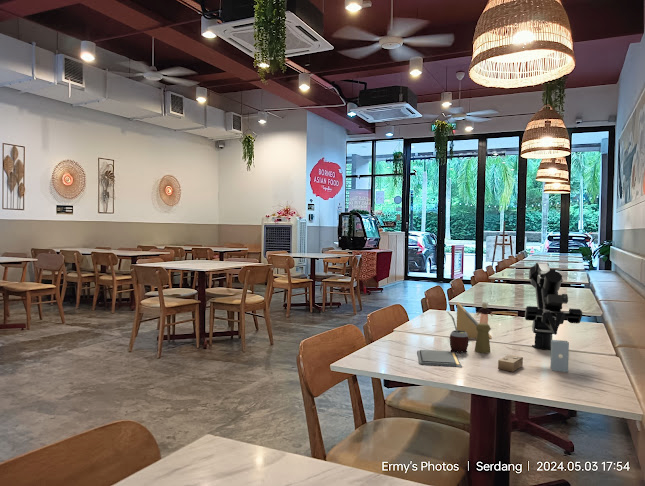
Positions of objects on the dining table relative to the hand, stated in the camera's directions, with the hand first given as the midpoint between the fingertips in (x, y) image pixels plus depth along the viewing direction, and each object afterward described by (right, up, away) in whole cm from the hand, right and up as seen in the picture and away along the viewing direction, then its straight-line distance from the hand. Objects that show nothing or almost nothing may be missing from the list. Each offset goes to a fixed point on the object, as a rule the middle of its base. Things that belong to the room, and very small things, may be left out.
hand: (555, 333), depth 170 cm
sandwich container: (-15, -10, +45) cm, 49 cm away
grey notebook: (-41, -11, +5) cm, 43 cm away
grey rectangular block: (-2, -11, -7) cm, 13 cm away
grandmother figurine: (-2, -10, +68) cm, 69 cm away
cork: (-20, -10, +17) cm, 29 cm away
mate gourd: (-31, -10, +16) cm, 36 cm away
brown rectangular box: (-15, -9, -2) cm, 18 cm away
